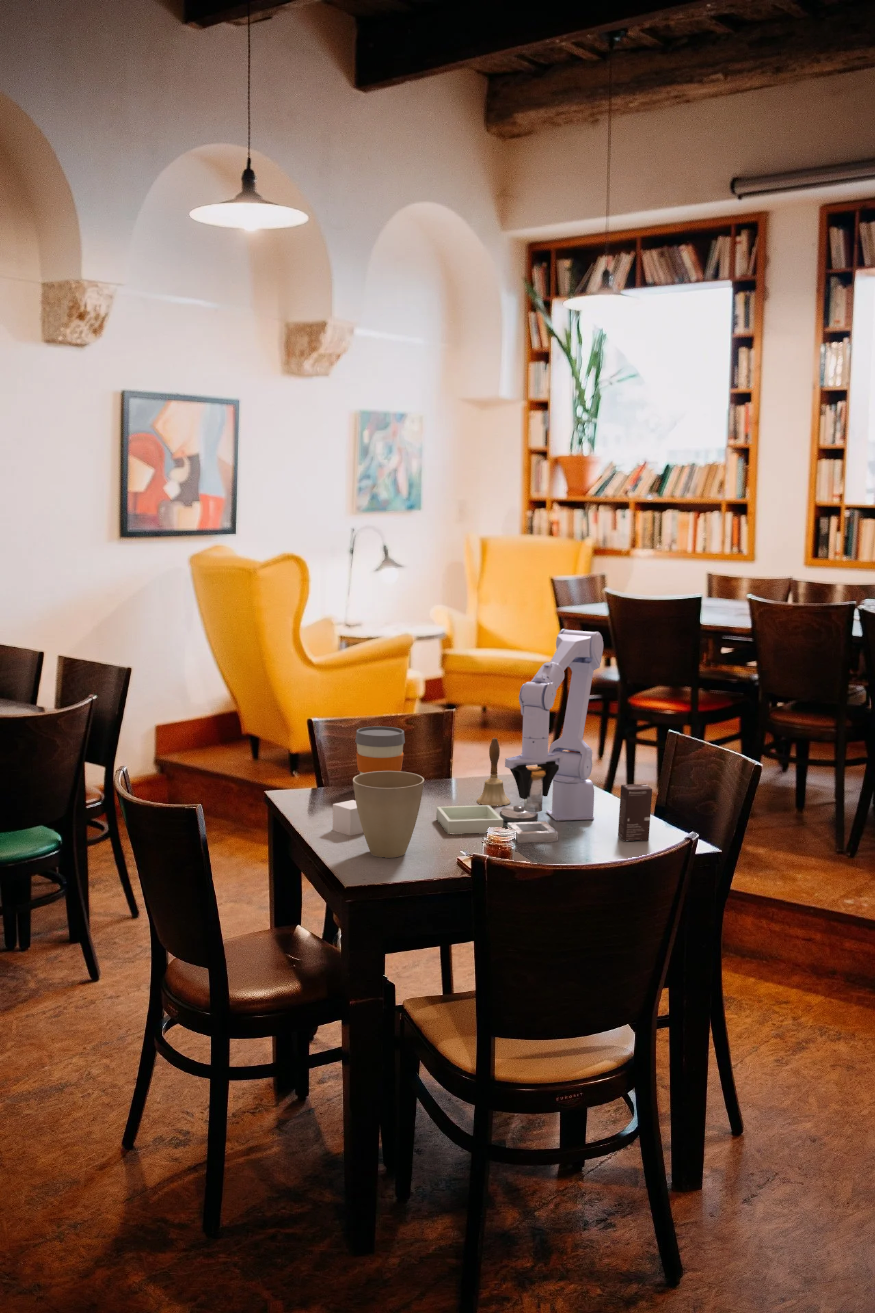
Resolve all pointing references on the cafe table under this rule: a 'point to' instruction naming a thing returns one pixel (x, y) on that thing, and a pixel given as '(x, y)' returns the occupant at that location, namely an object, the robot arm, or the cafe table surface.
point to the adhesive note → (346, 818)
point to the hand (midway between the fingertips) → (533, 796)
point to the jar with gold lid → (535, 790)
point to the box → (634, 812)
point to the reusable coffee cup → (379, 749)
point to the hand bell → (493, 781)
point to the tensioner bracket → (527, 825)
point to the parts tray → (468, 818)
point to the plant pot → (388, 809)
